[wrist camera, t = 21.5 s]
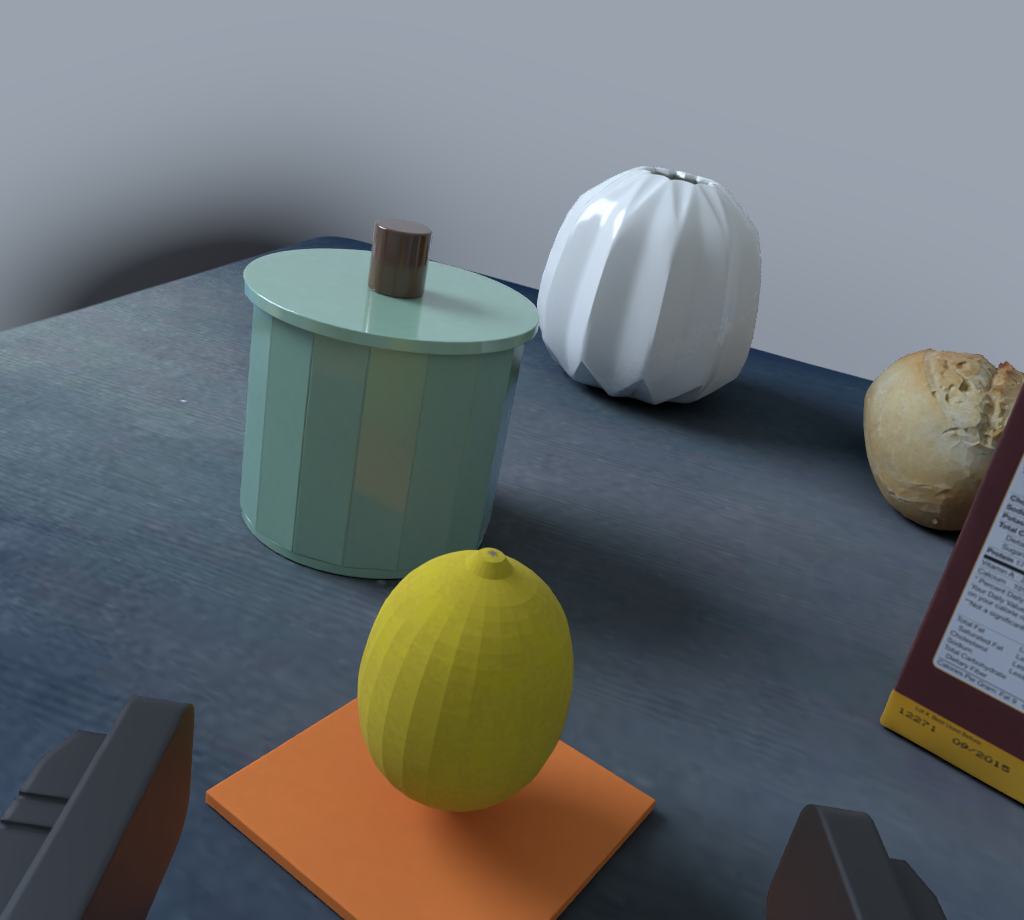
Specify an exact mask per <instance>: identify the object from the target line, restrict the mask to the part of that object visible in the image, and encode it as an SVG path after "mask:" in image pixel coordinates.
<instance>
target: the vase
mask: <svg viewBox="0 0 1024 920" xmlns="http://www.w3.org/2000/svg"><path fill="white" fill-rule="evenodd" d="M760 284H761V257H760V244H759V235H758V231H757V229H756V228H755V226H754V224H753V223H752V221H751V220H750V218H749V216H748V215H747V214H746V212H745V211H744V209H743V208H742V206H741V205H740V204H739V203H738V201H737V200H736V199H735V198H734V197H733V196H732V195H731V193H730V192H729V191H728V190H727V189H725V188H724V187H723V186H721V185H720V184H718V183H717V182H715V181H713V180H710V179H706V178H703V177H701V176H697V175H694V174H689V173H684V172H681V171H675V170H670V169H664V168H658V167H644V166H642V167H637V168H633V169H631V170H628V171H625V172H623V173H620V174H618V175H616V176H614V177H612V178H610V179H608V180H606V181H604V182H602V183H601V184H599V185H597V186H595V187H594V188H592V189H590V190H588V191H587V192H585V193H583V194H582V195H581V196H580V197H579V199H578V200H577V202H576V203H575V204H574V205H573V207H572V208H571V209H570V211H569V212H568V214H567V216H566V218H565V220H564V222H563V224H562V226H561V228H560V230H559V233H558V235H557V238H556V240H555V242H554V245H553V247H552V250H551V253H550V255H549V258H548V261H547V265H546V268H545V271H544V274H543V277H542V280H541V285H540V290H539V295H538V301H537V310H538V312H539V315H540V320H539V326H540V329H541V331H542V338H543V341H544V343H545V345H546V347H547V349H548V352H549V353H550V355H551V357H552V359H553V360H554V362H555V363H556V364H558V365H559V366H561V367H563V368H564V370H565V371H566V373H567V374H568V375H569V376H570V377H571V378H572V380H574V381H577V382H579V383H583V384H586V385H590V386H594V387H597V388H601V389H604V390H605V392H606V393H607V394H608V395H610V396H613V397H631V398H634V399H637V400H640V401H643V402H646V403H649V404H654V405H656V404H659V403H662V402H665V401H668V402H675V403H691V402H694V401H697V400H699V399H701V398H703V397H704V396H706V395H708V394H710V393H712V392H714V391H715V390H717V389H719V388H720V387H722V386H724V385H725V384H727V383H729V382H730V381H732V380H734V379H735V378H737V377H738V375H739V373H740V371H741V369H742V367H743V365H744V363H745V361H746V359H747V356H748V353H749V349H750V346H751V343H752V339H753V334H754V329H755V323H756V317H757V312H758V303H759V294H760Z"/></svg>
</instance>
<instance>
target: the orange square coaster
mask: <svg viewBox="0 0 1024 920" xmlns="http://www.w3.org/2000/svg"><path fill="white" fill-rule="evenodd" d="M206 803H207V804H209V805H210V806H211V807H212V808H213V809H215V810H216V811H217V812H218V813H219V814H220V815H222V816H223V817H224V818H225V819H226V820H228V821H229V822H230V823H231V824H232V825H233V826H235V827H236V828H237V829H238V830H239V831H241V832H242V833H243V834H244V835H245V836H246V837H248V838H249V839H250V840H251V841H252V842H253V843H255V844H256V845H257V846H258V847H259V848H261V849H262V850H263V851H264V852H265V853H266V854H268V855H269V856H270V857H271V858H272V859H274V860H275V861H276V862H277V863H278V864H279V865H281V866H282V867H283V868H284V869H285V870H287V871H288V872H289V873H290V874H291V875H292V876H294V877H295V878H296V879H297V880H298V881H300V882H301V883H302V884H303V885H304V886H305V887H307V888H308V889H309V890H310V891H311V892H312V893H314V894H315V895H316V896H317V897H318V898H320V899H321V900H322V901H323V902H324V903H325V904H327V905H328V906H329V907H330V908H331V909H333V910H334V911H335V912H336V913H337V914H338V915H340V916H341V917H342V918H343V919H344V920H556V919H557V918H558V917H559V916H560V915H561V913H562V912H563V911H564V910H565V909H566V908H567V907H568V906H569V904H570V903H571V902H572V901H573V900H574V899H575V898H576V896H577V895H578V894H579V893H580V892H581V891H582V890H583V888H584V887H585V886H586V885H587V884H588V883H589V882H590V881H591V879H592V878H593V877H594V876H595V875H596V874H597V873H598V871H599V870H600V869H601V868H602V867H603V866H604V865H605V864H606V862H607V861H608V860H609V859H610V858H611V857H612V856H613V854H614V853H615V852H616V851H617V850H618V849H619V848H620V847H621V845H622V844H623V843H624V842H625V841H626V840H627V839H628V837H629V836H630V835H631V834H632V833H633V832H634V831H635V830H636V828H637V827H638V826H639V825H640V824H641V823H642V822H643V820H644V819H645V818H646V817H647V816H648V815H649V814H650V813H651V811H652V810H653V808H654V805H655V800H654V799H653V798H651V797H650V796H648V795H647V794H645V793H643V792H642V791H640V790H639V789H637V788H635V787H634V786H632V785H631V784H629V783H627V782H626V781H624V780H623V779H621V778H620V777H618V776H616V775H615V774H613V773H612V772H610V771H608V770H607V769H605V768H604V767H602V766H600V765H599V764H597V763H596V762H594V761H593V760H591V759H589V758H588V757H586V756H585V755H583V754H581V753H580V752H578V751H577V750H575V749H574V748H572V747H570V746H569V745H567V744H566V743H564V742H562V741H561V740H559V741H558V743H557V745H556V747H555V749H554V751H553V752H552V754H551V755H550V757H549V758H548V760H547V761H546V763H545V764H544V766H543V767H542V769H541V770H540V772H539V773H538V775H537V776H536V777H535V778H534V779H533V780H532V781H531V782H530V783H529V784H528V785H526V786H525V787H524V788H522V789H521V790H520V791H518V792H517V793H516V794H514V795H513V796H512V797H510V798H509V799H507V800H505V801H502V802H500V803H498V804H495V805H493V806H490V807H488V808H485V809H480V810H474V811H468V812H453V811H443V810H438V809H434V808H430V807H427V806H425V805H423V804H421V803H418V802H416V801H414V800H412V799H410V798H408V797H407V796H405V795H404V794H403V793H401V792H400V791H399V790H397V789H396V788H395V787H394V786H393V785H392V784H391V783H390V782H389V781H388V780H387V779H386V778H385V776H384V775H383V774H382V773H381V772H380V770H379V769H378V768H377V766H376V765H375V763H374V761H373V759H372V757H371V755H370V753H369V750H368V748H367V746H366V743H365V741H364V738H363V735H362V731H361V726H360V718H359V705H358V698H356V699H355V700H353V701H351V702H350V703H348V704H346V705H345V706H343V707H342V708H340V709H338V710H337V711H335V712H334V713H332V714H330V715H329V716H327V717H326V718H324V719H322V720H321V721H319V722H317V723H316V724H314V725H313V726H311V727H309V728H308V729H306V730H305V731H303V732H301V733H300V734H298V735H296V736H295V737H293V738H292V739H290V740H288V741H287V742H285V743H284V744H282V745H280V746H279V747H277V748H276V749H274V750H272V751H271V752H269V753H267V754H266V755H264V756H263V757H261V758H259V759H258V760H256V761H255V762H253V763H251V764H250V765H248V766H246V767H245V768H243V769H242V770H240V771H238V772H237V773H235V774H234V775H232V776H230V777H229V778H227V779H226V780H224V781H222V782H221V783H219V784H217V785H216V786H214V787H213V788H211V789H209V790H208V791H207V792H206Z"/></svg>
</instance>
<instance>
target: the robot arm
mask: <svg viewBox="0 0 1024 920" xmlns="http://www.w3.org/2000/svg"><path fill="white" fill-rule="evenodd" d="M193 732H194V707H193V705H192V704H188V703H181V702H175V701H169V700H162V699H156V698H150V697H143V696H137V695H134V696H132V697H130V699H129V700H128V701H127V702H126V704H125V706H124V707H123V709H122V711H121V712H120V714H119V716H118V717H117V719H116V721H115V723H114V724H113V726H112V728H111V729H110V731H109V733H108V734H100V733H94V732H87V731H81V730H78V731H77V732H75V733H74V734H73V735H71V736H70V737H69V738H67V739H66V740H65V741H63V742H62V743H60V744H59V745H58V746H56V747H55V748H54V749H52V750H51V751H50V752H48V753H47V754H46V755H44V756H43V757H42V758H41V759H40V761H39V762H38V764H37V765H36V767H35V769H34V770H33V772H32V773H31V775H30V776H29V778H28V779H27V781H26V782H25V784H24V785H23V787H22V788H21V790H20V791H19V796H18V798H15V799H14V800H13V802H12V803H11V805H10V806H9V808H8V809H7V811H6V812H5V814H4V816H3V817H2V819H1V822H0V920H145V919H146V917H147V914H148V912H149V910H150V907H151V905H152V903H153V900H154V898H155V896H156V893H157V891H158V889H159V886H160V884H161V882H162V879H163V877H164V874H165V872H166V870H167V867H168V865H169V863H170V860H171V858H172V856H173V853H174V851H175V849H176V846H177V844H178V841H179V838H180V835H181V832H182V829H183V825H184V822H185V817H186V813H187V808H188V803H189V796H190V782H191V765H192V748H193ZM767 920H947V919H946V917H945V915H944V913H943V911H942V908H941V906H940V904H939V902H938V900H937V898H936V896H935V895H934V894H933V892H932V891H931V890H930V889H929V888H928V887H927V885H926V884H925V883H924V882H923V881H922V880H921V878H920V877H919V876H918V875H917V874H916V873H915V871H914V870H913V869H912V868H911V867H910V866H909V864H908V863H907V862H906V861H904V860H898V859H891V858H889V857H888V854H887V852H886V849H885V847H884V845H883V842H882V840H881V838H880V835H879V833H878V831H877V828H876V826H875V824H874V822H873V820H872V819H871V817H870V816H869V815H868V814H866V813H864V812H858V811H852V810H846V809H839V808H833V807H827V806H820V805H814V804H809V805H806V806H805V807H804V808H803V810H802V811H801V813H800V815H799V818H798V820H797V822H796V825H795V827H794V830H793V832H792V834H791V837H790V839H789V842H788V844H787V846H786V849H785V851H784V854H783V856H782V858H781V861H780V863H779V866H778V868H777V870H776V873H775V875H774V878H773V880H772V883H771V885H770V889H769V893H768V899H767Z"/></svg>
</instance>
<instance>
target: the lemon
mask: <svg viewBox="0 0 1024 920" xmlns="http://www.w3.org/2000/svg"><path fill="white" fill-rule="evenodd" d="M573 670H574V664H573V649H572V641H571V636H570V631H569V626H568V622H567V618H566V615H565V613H564V611H563V608H562V606H561V605H560V603H559V601H558V600H557V598H556V596H555V595H554V593H553V592H552V590H551V589H550V588H549V586H548V585H547V584H546V583H545V582H544V581H543V580H542V579H541V578H540V577H539V576H538V575H537V574H536V573H535V572H533V571H532V570H531V569H529V568H528V567H526V566H525V565H523V564H522V563H520V562H518V561H517V560H515V559H513V558H510V557H508V556H506V555H504V554H503V553H502V552H501V551H499V550H497V549H494V548H482V549H480V550H465V551H457V552H452V553H448V554H445V555H442V556H439V557H436V558H434V559H431V560H429V561H428V562H426V563H424V564H423V565H421V566H419V567H418V568H416V569H414V570H413V571H411V572H410V573H409V574H408V575H407V576H406V577H405V578H404V579H403V580H402V581H401V582H400V583H399V584H398V585H397V586H396V587H395V589H394V590H393V591H392V592H391V594H390V595H389V596H388V598H387V599H386V600H385V602H384V604H383V606H382V608H381V609H380V611H379V613H378V616H377V618H376V620H375V622H374V625H373V627H372V630H371V633H370V635H369V638H368V641H367V644H366V647H365V650H364V654H363V657H362V660H361V665H360V670H359V678H358V705H359V718H360V726H361V731H362V735H363V738H364V741H365V743H366V746H367V748H368V750H369V753H370V755H371V757H372V759H373V761H374V763H375V765H376V766H377V768H378V769H379V770H380V772H381V773H382V774H383V775H384V776H385V778H386V779H387V780H388V781H389V782H390V783H391V784H392V785H393V786H394V787H395V788H396V789H397V790H399V791H400V792H401V793H403V794H404V795H405V796H407V797H408V798H410V799H412V800H414V801H416V802H418V803H421V804H423V805H425V806H427V807H430V808H434V809H438V810H443V811H453V812H468V811H474V810H480V809H485V808H488V807H490V806H493V805H495V804H498V803H500V802H502V801H505V800H507V799H509V798H510V797H512V796H513V795H514V794H516V793H517V792H518V791H520V790H521V789H522V788H524V787H525V786H526V785H528V784H529V783H530V782H531V781H532V780H533V779H534V778H535V777H536V776H537V775H538V773H539V772H540V770H541V769H542V767H543V766H544V764H545V763H546V761H547V760H548V758H549V757H550V755H551V754H552V752H553V751H554V749H555V747H556V745H557V743H558V741H559V738H560V736H561V733H562V731H563V728H564V725H565V721H566V717H567V713H568V708H569V703H570V698H571V693H572V686H573Z"/></svg>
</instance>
